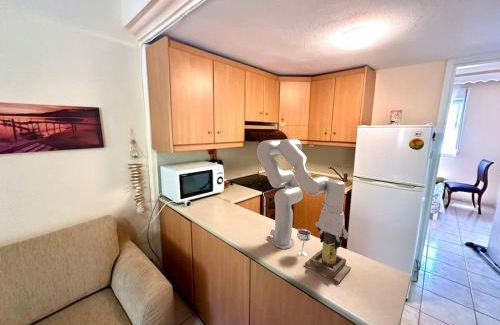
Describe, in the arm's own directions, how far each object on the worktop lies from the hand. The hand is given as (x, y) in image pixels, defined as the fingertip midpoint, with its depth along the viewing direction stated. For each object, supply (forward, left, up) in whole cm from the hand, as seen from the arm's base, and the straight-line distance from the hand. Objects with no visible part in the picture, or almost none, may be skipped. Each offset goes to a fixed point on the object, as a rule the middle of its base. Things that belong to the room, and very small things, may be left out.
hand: (329, 244), depth 93 cm
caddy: (0, 0, -12) cm, 12 cm away
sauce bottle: (0, 0, -10) cm, 10 cm away
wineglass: (-14, +1, -12) cm, 18 cm away
